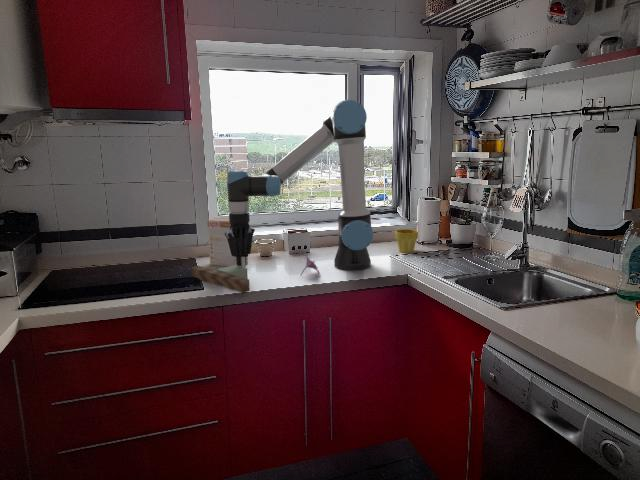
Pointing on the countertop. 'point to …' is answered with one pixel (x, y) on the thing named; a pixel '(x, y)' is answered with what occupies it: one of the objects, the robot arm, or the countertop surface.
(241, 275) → the sage block
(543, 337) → the countertop surface
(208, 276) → the walnut plank
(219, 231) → the coffeecake box
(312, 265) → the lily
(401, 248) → the plant pot
